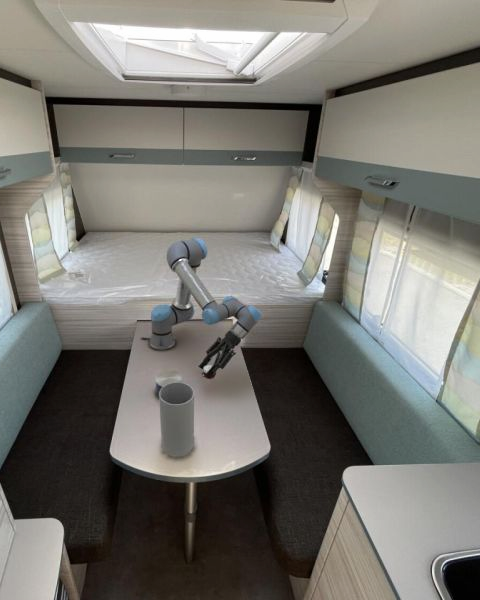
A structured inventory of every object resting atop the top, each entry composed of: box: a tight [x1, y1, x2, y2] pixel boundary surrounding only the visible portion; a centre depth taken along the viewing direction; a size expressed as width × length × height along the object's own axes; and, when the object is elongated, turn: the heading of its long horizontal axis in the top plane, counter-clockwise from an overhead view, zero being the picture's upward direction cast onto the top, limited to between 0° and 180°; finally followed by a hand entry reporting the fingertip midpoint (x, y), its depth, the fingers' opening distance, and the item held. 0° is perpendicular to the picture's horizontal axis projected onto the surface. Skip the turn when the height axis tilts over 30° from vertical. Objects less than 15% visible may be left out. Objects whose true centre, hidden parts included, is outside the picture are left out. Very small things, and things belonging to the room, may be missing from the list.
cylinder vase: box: [158, 381, 195, 458], centre depth 122 cm, size 12×12×25 cm
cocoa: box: [200, 351, 222, 380], centre depth 152 cm, size 10×6×12 cm, turn 97°
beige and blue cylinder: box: [154, 369, 183, 398], centre depth 153 cm, size 12×12×8 cm
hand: (203, 372), depth 152 cm, fingers closed on cocoa, 6 cm apart
